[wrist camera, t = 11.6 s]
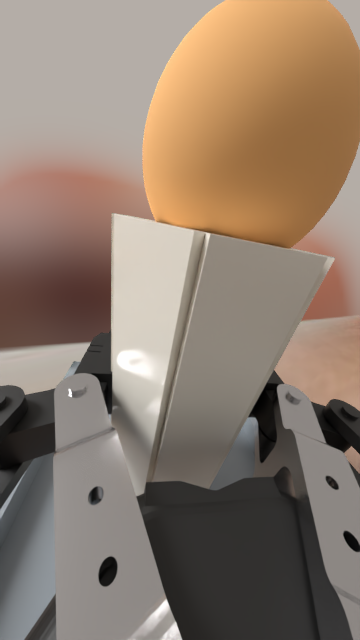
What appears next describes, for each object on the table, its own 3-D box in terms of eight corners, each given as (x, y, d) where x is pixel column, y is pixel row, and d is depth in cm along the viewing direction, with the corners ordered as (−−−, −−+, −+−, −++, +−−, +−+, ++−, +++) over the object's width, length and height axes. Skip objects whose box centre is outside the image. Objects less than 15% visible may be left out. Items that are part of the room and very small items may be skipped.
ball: (122, 274, 4) (144, -446, 1) (142, 244, 8) (155, 71, 6) (337, 306, 4) (584, -89, 2) (248, 263, 9) (297, 120, 6)
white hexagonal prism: (100, 523, 8) (81, 208, 3) (123, 403, 13) (133, 216, 8) (228, 513, 9) (410, 273, 4) (202, 405, 14) (260, 241, 9)
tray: (-148, 819, 5) (-229, 870, 4) (76, 381, 18) (73, 361, 17) (347, 679, 8) (390, 682, 6) (228, 388, 21) (235, 372, 20)
